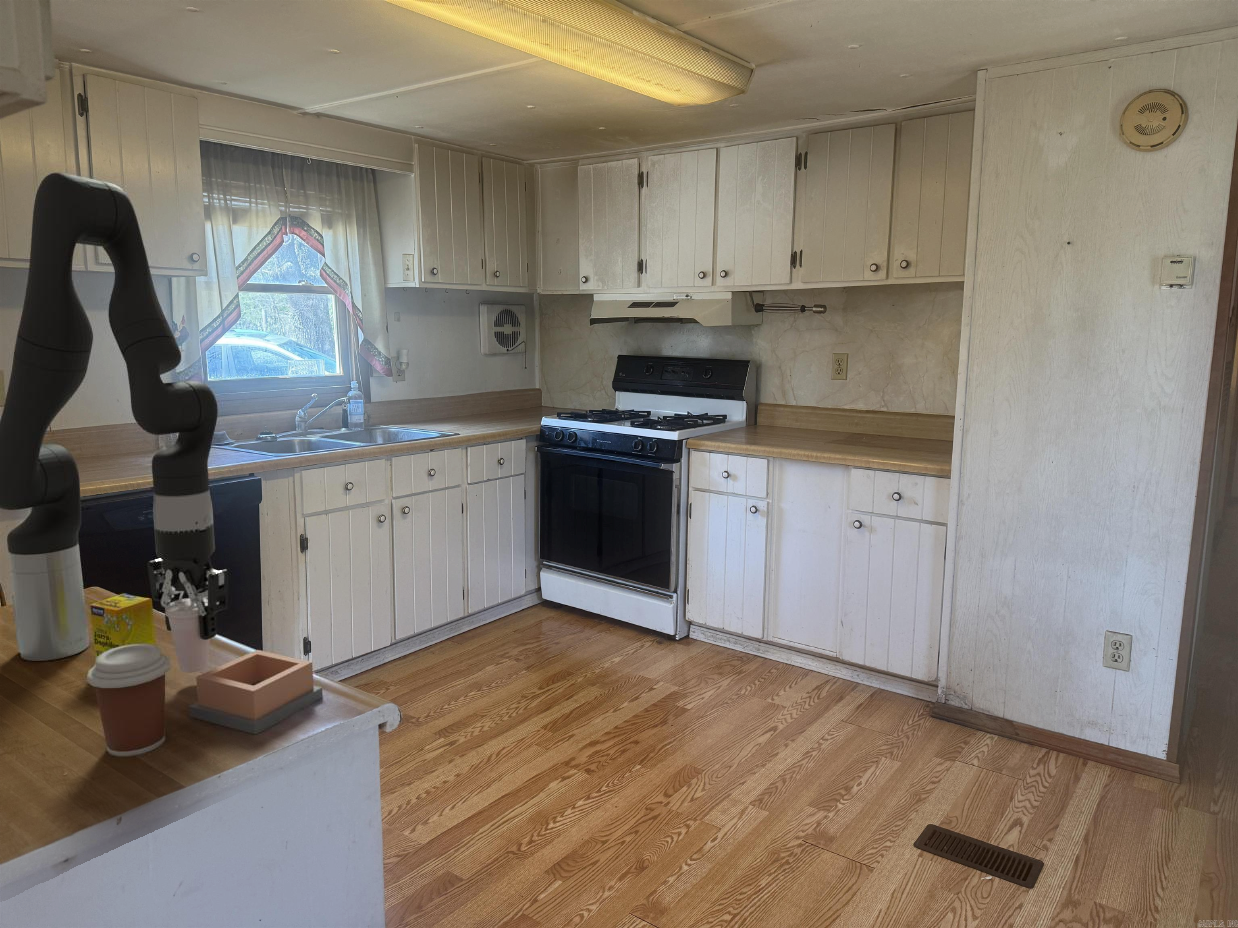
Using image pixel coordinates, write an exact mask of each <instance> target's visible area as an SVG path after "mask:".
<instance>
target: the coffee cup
mask: <svg viewBox="0 0 1238 928" xmlns="http://www.w3.org/2000/svg"><path fill="white" fill-rule="evenodd" d="M94 661H95V662H94V663H95V664H94V665H93V667H91V668H90V669H89V670H88V672H87V676H86V682H87V683H88V684H89V685H90V686H92V687H94V690H95V692H94V693H95V696H96V700H97V701H96V702H97V704H98V705H97V706H98V709H99V714H100V719H101V724H102V729H103V734H104V739H105V743H106V750H107V753H109V755H110V756H115V757H132V756H138V755H139V756H140V755H143V754H145V753H148V752H151V751H153V750H155V749H157V748H158V747H160V746H161V745H163V743H164V742H166V674H167V672H169V670H171V659H170V657H169V656H167V655H166V654H163V653H161V648H159V646H157V645H156V646H155V645H150V644H132V645H125V646H121V647H117V648H113V649H111V650H108V651H106V652H103V653H102V654H101V655H99V656H98V657H97V658H96V659H95V660H94Z"/></svg>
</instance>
